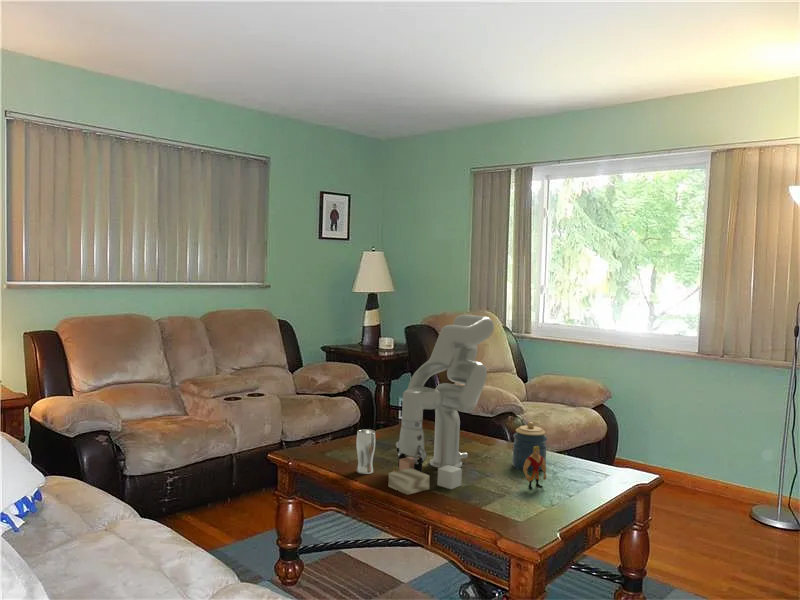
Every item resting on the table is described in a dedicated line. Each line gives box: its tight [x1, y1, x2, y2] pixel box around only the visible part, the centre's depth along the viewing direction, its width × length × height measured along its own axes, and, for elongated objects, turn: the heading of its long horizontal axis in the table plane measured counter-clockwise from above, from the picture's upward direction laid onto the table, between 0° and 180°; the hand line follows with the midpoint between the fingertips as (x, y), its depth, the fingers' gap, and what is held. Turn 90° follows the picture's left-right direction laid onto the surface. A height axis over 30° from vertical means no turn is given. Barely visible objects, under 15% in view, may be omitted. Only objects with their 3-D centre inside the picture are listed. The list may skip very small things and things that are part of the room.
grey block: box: [437, 465, 463, 490], centre depth 224 cm, size 6×6×6 cm
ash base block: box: [388, 468, 431, 496], centre depth 220 cm, size 10×10×5 cm
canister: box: [511, 421, 548, 472], centre depth 248 cm, size 13×13×18 cm
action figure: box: [522, 446, 547, 490], centre depth 224 cm, size 10×4×15 cm, turn 114°
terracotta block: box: [398, 456, 416, 471], centre depth 233 cm, size 6×6×6 cm
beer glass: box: [356, 428, 376, 475], centre depth 235 cm, size 7×7×15 cm
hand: (409, 470), depth 232 cm, fingers open, 9 cm apart
